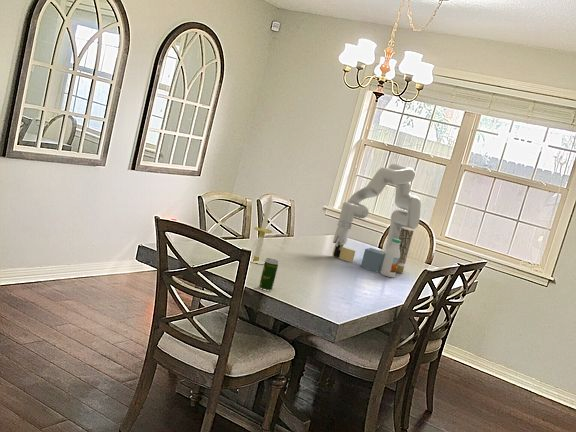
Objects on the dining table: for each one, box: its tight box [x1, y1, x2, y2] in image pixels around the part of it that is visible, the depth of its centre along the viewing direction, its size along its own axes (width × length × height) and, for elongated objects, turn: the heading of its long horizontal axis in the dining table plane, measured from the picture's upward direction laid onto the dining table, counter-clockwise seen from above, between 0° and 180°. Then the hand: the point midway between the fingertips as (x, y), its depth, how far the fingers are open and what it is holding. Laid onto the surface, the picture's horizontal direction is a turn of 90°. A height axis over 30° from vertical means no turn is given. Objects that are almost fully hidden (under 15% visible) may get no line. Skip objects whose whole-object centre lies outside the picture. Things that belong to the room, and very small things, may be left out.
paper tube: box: [396, 227, 415, 274], centre depth 373 cm, size 7×7×25 cm
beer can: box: [258, 257, 279, 291], centre depth 266 cm, size 5×5×12 cm
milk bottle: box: [380, 238, 401, 278], centre depth 356 cm, size 8×8×20 cm
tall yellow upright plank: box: [332, 246, 356, 263], centre depth 373 cm, size 1×12×6 cm, turn 64°
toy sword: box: [253, 193, 273, 262], centre depth 311 cm, size 10×10×32 cm
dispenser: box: [360, 247, 386, 273], centre depth 365 cm, size 10×10×10 cm
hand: (336, 256), depth 374 cm, fingers closed
